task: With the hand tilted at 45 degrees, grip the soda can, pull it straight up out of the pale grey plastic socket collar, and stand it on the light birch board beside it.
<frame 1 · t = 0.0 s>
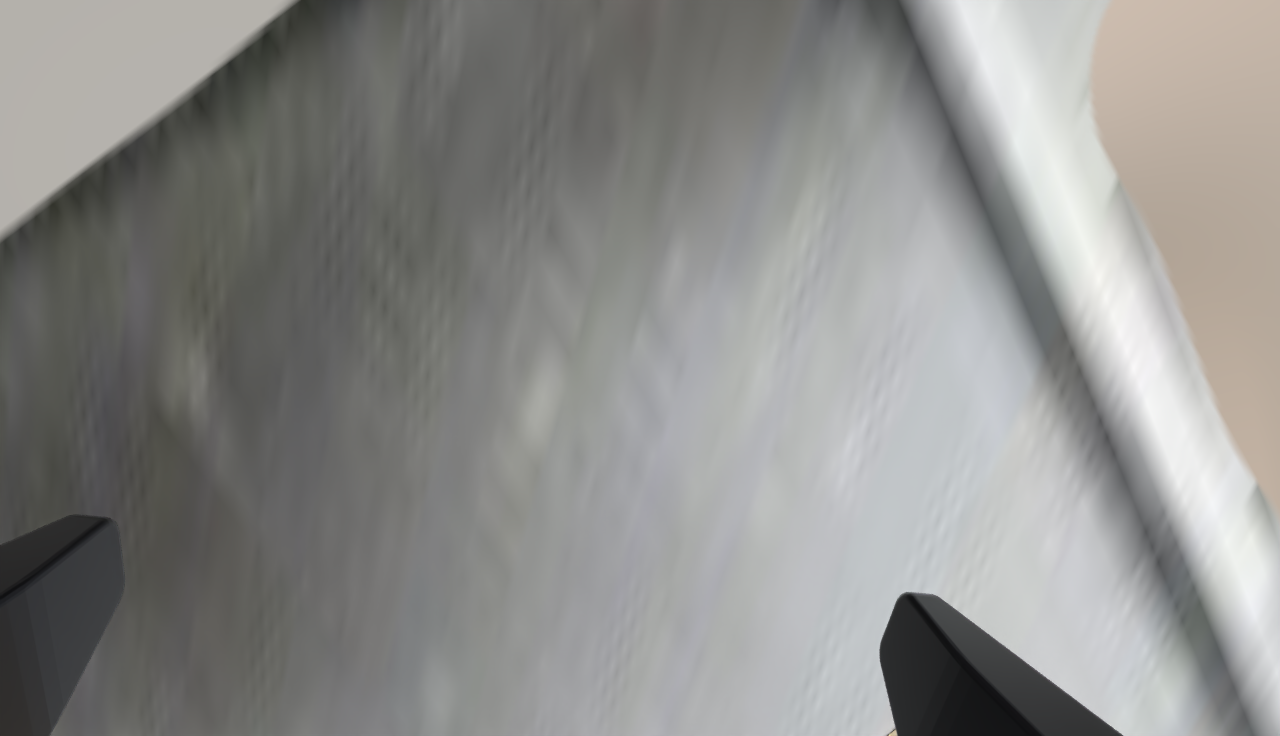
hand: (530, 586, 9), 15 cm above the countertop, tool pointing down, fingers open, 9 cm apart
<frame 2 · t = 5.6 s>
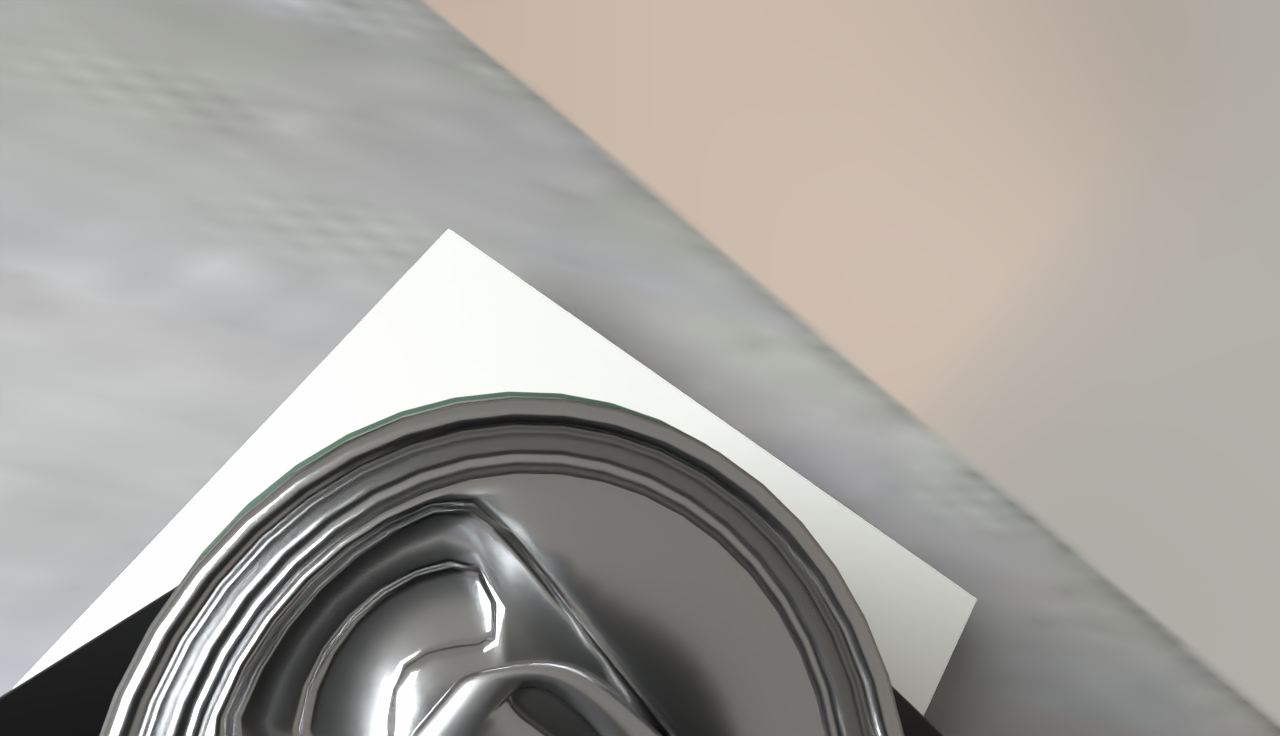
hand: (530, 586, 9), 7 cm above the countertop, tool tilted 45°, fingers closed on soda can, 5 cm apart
socket collar: (506, 691, 15), on the countertop
soda can: (506, 690, 15), resting in socket collar, touching gripper
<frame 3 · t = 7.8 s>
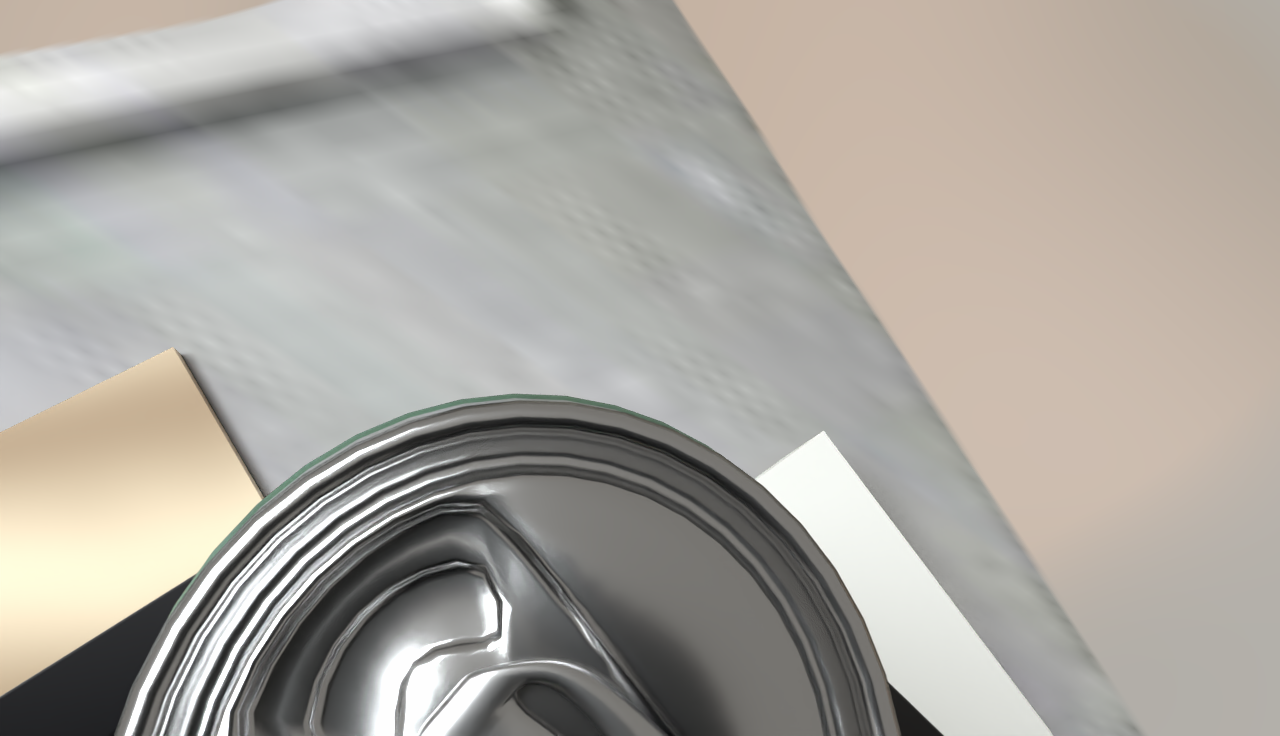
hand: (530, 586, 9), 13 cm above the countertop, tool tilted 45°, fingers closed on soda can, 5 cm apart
soda can: (508, 688, 15), point 5 cm above the countertop, touching gripper
when the fingers open (9 cm above the countertop, at t = 10.3 s): soda can stays where it is, resting on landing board.
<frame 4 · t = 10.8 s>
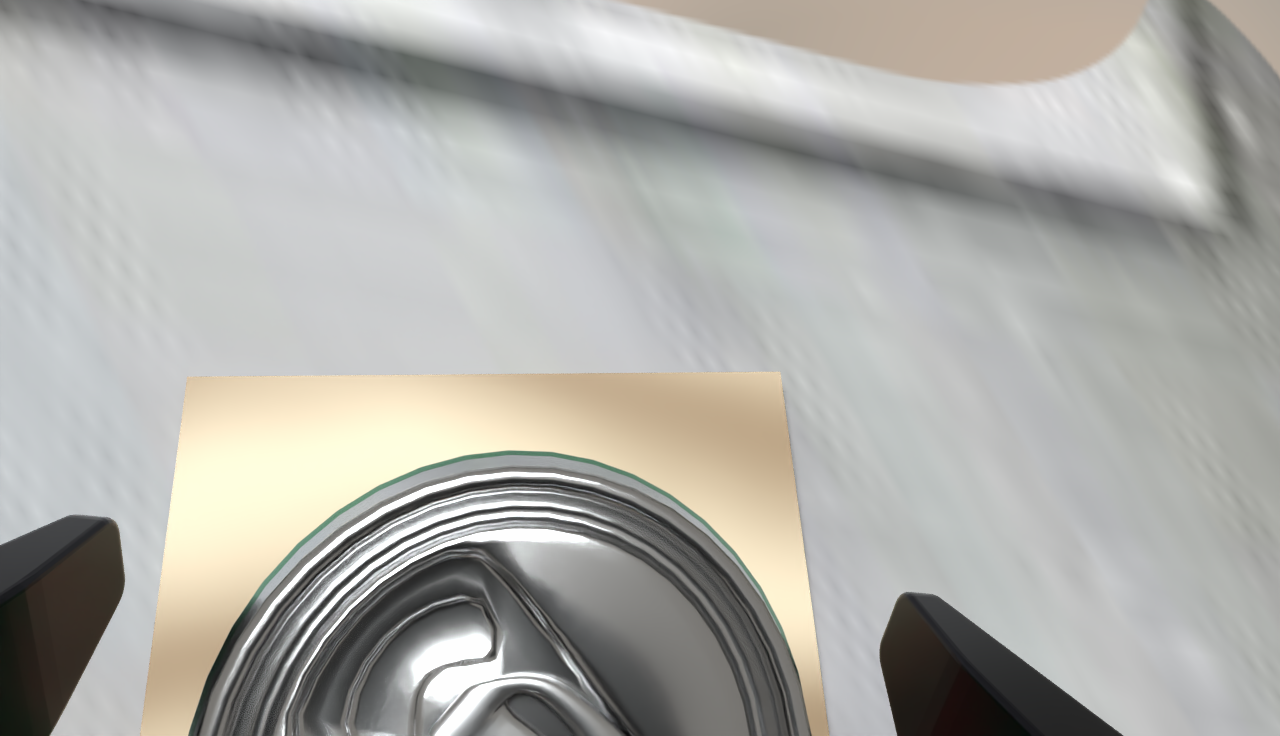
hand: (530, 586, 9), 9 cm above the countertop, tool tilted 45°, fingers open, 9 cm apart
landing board: (506, 686, 17), on the countertop
soda can: (505, 692, 17), resting on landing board
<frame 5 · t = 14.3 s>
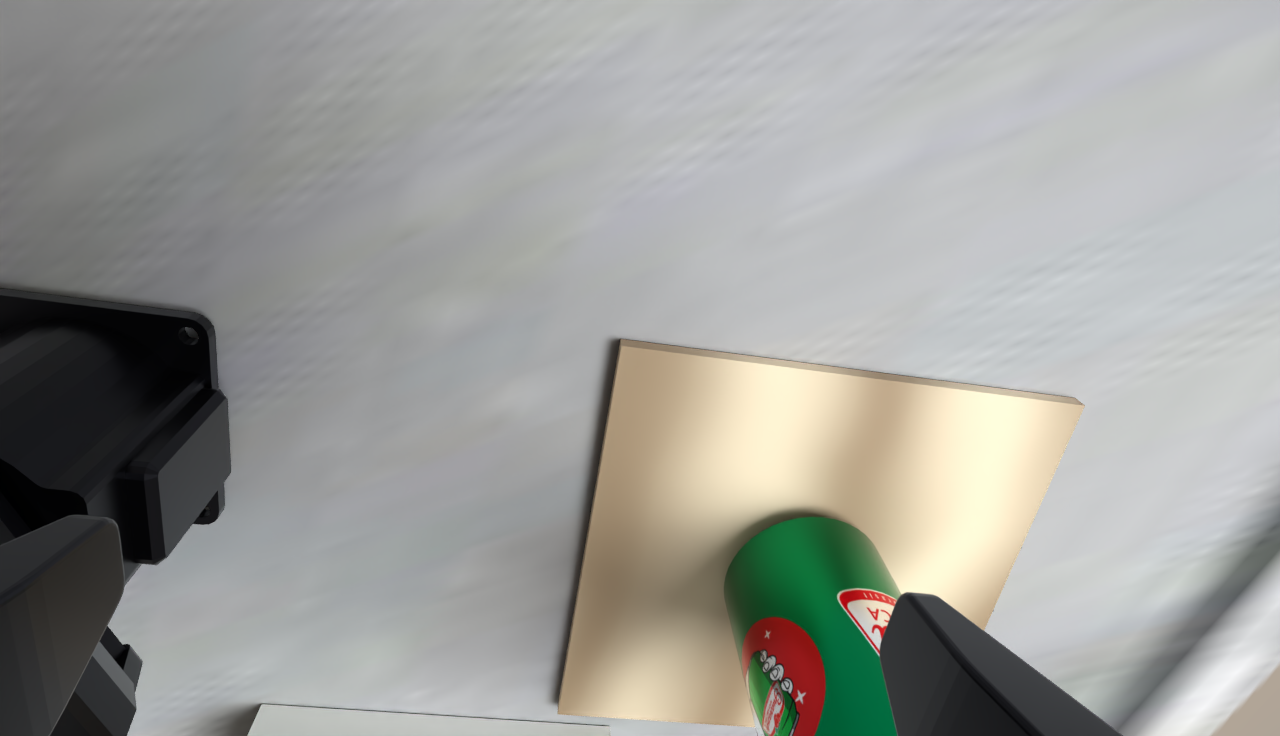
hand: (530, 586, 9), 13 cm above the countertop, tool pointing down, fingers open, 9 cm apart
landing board: (797, 561, 26), on the countertop
soda can: (796, 566, 25), resting on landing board
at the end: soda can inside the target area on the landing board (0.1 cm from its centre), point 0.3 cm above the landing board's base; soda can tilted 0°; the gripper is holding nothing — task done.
